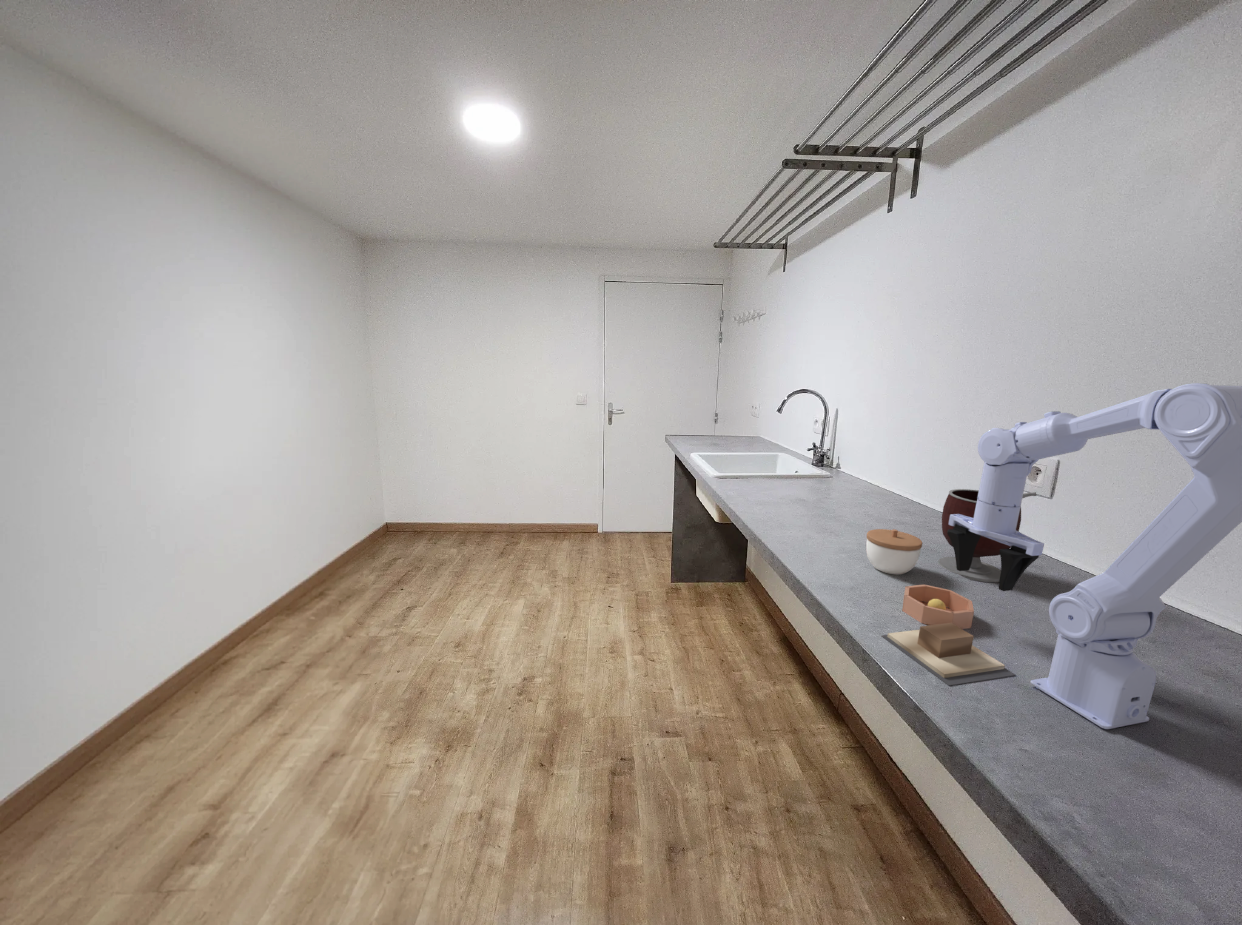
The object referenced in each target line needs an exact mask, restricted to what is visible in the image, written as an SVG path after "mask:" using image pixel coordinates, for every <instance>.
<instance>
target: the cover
mask: <svg viewBox="0 0 1242 925" xmlns="http://www.w3.org/2000/svg"><path fill="white" fill-rule="evenodd" d="M886 635H887V637H888V638H890V639H891V640H893V641H894V642H895V643H897V644H898V645H899V646H901V647H902V648H904V649H905V650H906V651H908V652H909V653H910V654H912V655H913V656H915V657H916V658H917V659H919V660H920V661H921V662H923V663H924V664H926V665H927V666H928V667H930V668H931V669H932V670H934V671H935V672H936V673H938V674H939V675H941V676H942V677H943V678H947V677H954V676H960V675H967V674H974V673H981V672H987V671H994V670H1001V669H1004V668H1006V665H1005V664H1003V663H1002V662H1000V661H999V660H997V659H996V658H994V657H992V656H991V655H989V654H988V653H986V652H984V651H982V649H979V648H977V647H976V646H974V645H973V642H974V637H975V636H974V635H973V634H971V633H969V632H968V631H966V630H965V629H961V628H959V627H957V626H956V625H954V624H952V623H945V624H937V625H921V626H919V629H913V630H905V631H904V630H903V631H897V632H895V631H894V632H888V633H887V634H886Z"/></svg>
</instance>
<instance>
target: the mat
mask: <svg viewBox="0 0 1242 925" xmlns="http://www.w3.org/2000/svg"><path fill="white" fill-rule="evenodd" d="M887 635H888V634H884V635H881V637H882V638H883V639H885V640H886V641H887V642H888V643H890V644H891V645H893V646H894V647H895V648H896V649H898V650H899V651H900V652H902V653H903V654H905V656H907V657H908V658H910V659H911V660H913V661H914V662H916V663H917V664H918V665H919V666H921V667H922V668H924V669H925V670H927V672H929V673H930V674H932V675H933V676H934V677H935V678H937V679H938V680H940V682H942V683H944V684H945V685H947V686H948V687H952V686H958V685H965V684H971V683H978V682H984V681H990V680H998V679H1004V678H1011V677H1016V676H1017V674H1016V673H1013V672H1012V671H1010V670H1009V669H1007V668H1006V667H1005V668H1004V669H1001V670H994V671H987V672H981V673H974V674H967V675H960V676H954V677H947V678H943V677H942V676H941V675H939V674H938V673H936V672H935V671H934V670H932V669H931V668H930V667H928V666H927V665H926V664H924V663H923V662H921V661H920V660H919V659H917V658H916V657H915V656H913V655H912V654H910V653H909V652H908V651H906V650H905V649H904V648H902V647H901V646H899V645H898V644H897V643H895V642H894V641H893V640H891V639H890V638H888V637H887Z"/></svg>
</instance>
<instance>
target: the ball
mask: <svg viewBox="0 0 1242 925" xmlns="http://www.w3.org/2000/svg"><path fill="white" fill-rule="evenodd" d="M928 606H930V607H934V608H938V609H942V610H946V606H945V604H944V602H942V601H941V600H939V599H932V600H930V601H929V602H928Z"/></svg>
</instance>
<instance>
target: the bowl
mask: <svg viewBox="0 0 1242 925" xmlns="http://www.w3.org/2000/svg"><path fill="white" fill-rule="evenodd" d="M902 599H903V600H902V609H901V610H902V611H901V612H903V613H905V614H906V615H908V616H909V617H911V618H913V619H914V620H916V622H917V621H918V622H919V624H920V623H921V624H924V625H926V626H928V625H937V624H945V623H952V624H954V625H956V626H957V627H959V628H961V629H963V630H966V629H971V628H972V624H973V619H974V614H975V608H974V605H973V601H972V600H971V599H969V598H966V597H965V596H963V595H961V594H959V593H957V592H955V591H953V590H951V589H946V588H943V587H937V586H934V585H928V584H916V585H906V586H904V593H903V598H902ZM932 599H939V600H941V601H942V602H944V604H945V606H946V610H942V609H938V608H934V607H930V606H928V602H929V601H930V600H932Z"/></svg>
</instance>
